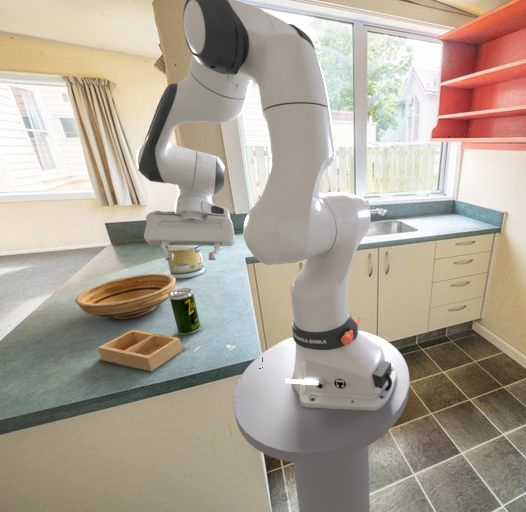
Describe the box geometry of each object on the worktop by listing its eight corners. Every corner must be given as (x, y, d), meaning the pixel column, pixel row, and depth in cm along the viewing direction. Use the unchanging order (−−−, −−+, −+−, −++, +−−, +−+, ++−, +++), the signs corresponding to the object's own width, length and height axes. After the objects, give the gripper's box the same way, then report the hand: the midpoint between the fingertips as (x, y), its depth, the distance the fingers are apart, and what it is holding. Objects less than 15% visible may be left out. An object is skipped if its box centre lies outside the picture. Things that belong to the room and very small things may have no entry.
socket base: (182, 350, 75) (179, 338, 74) (151, 371, 68) (147, 358, 66) (136, 341, 79) (133, 329, 78) (102, 360, 71) (97, 347, 70)
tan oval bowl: (60, 319, 89) (51, 295, 87) (146, 288, 111) (141, 268, 108) (120, 340, 79) (111, 314, 76) (202, 302, 100) (198, 280, 98)
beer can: (174, 336, 81) (164, 296, 77) (184, 325, 86) (175, 288, 82) (195, 334, 82) (186, 295, 78) (204, 324, 87) (196, 287, 83)
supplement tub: (208, 274, 125) (200, 235, 120) (173, 281, 117) (164, 240, 112) (201, 266, 133) (194, 230, 128) (169, 273, 126) (159, 234, 120)
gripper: (143, 204, 74) (137, 255, 69) (234, 209, 83) (234, 255, 78) (150, 216, 79) (144, 264, 75) (235, 220, 88) (234, 263, 84)
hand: (191, 259), depth 77 cm, fingers open, 8 cm apart
